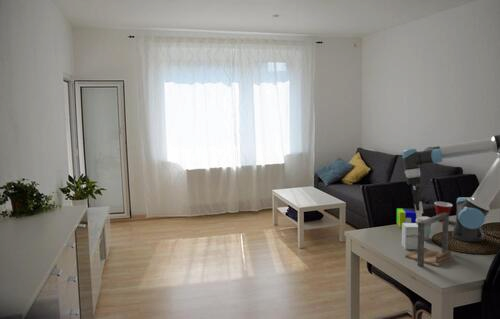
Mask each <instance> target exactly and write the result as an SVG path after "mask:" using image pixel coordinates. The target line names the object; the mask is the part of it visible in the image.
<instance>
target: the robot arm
mask: <svg viewBox="0 0 500 319" xmlns="http://www.w3.org/2000/svg"><path fill="white" fill-rule="evenodd" d="M489 153H495V154H496V158H495V161H494V162H493V163H492V165H491V167H490V168H489V170H488V171H487V173H486V174H485V175H484V177H483V179H482V181H481V182H480V183H479V185H478V187H477V188H476V190H475V191H474V193H473V194H472V196H470V197H468V196H467V197H464V196H463V197H461V196H460V197H458V198H456V203H455V204H456V214H455V215H456V219H455V220H456V222H455V225H454V227H453V230H452V232H451V233H452V235H451V236H452V237H453V238H454V239H456V240H460V241H464V242H468V243H469V242H471V243H473V242H474V243H478V242H482V241H483V240H484V233H483V230H482V226H483V225H484V223H485V221H486V218H487V215H488V214H489V212H490V211H491V209H490V204H491V203H492V202H493V200H494V199H495V197H496V195H497V194H498V192H499V191H500V134H497V135H492V136H491V137H489V138H484V139H477V140H469V141H464V142H459V143H458V142H456V143H452V144H444V145H439V146H438V145H437V146H428V147H426V148H425V149H424V150H421V151H417V149H416V148H409V149H405V150H402V161H403V167H404V173H403V174H405V177H406V183H407V185H409V186H410V185H412V186H411V188H410V189H411V193H412V200H413V203H412V206H414V210H415V211H416V217H421V216H423V215H422V214H424V209H423V199H422V198H421V190H420V186H419V184H422V182H423V180H422V176H421V170H420V166H423V165H430V164H438V163H442V162H443V160H445V159H451V158H452V159H453V158H459V157H467V156H476V155H482V154H489Z"/></svg>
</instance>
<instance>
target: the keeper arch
mask: <svg viewBox="0 0 500 319" xmlns="http://www.w3.org/2000/svg"><path fill="white" fill-rule="evenodd" d="M442 219H443V222H442V229H441V230H442V231H441V232H442V234H441V235H442V236H441V237H442V238H441V240H442V241H441V251H438V250H437V251H436V250H434V249H429V248H427V247H426V248H425V240H424V227H425V226H427V225H430V224H431V225H432V224H435V223H437V222H439V220H442ZM449 220H450V214H449V213H447V212H444V213H441V214H439V215H434V216H432V217H430V218H429V219H426V220H424V221H421V222H419V223H418V249H414V250H413V251H411V252H409V253H407V254H405V258H407V259H411V260H414V261H416V263H417V266H418V267H423V266H424V265H425V264H427V265H430V266H433V267H437V268H438V267H440V266H442V265H444V264H445V263H447V262H448V261H451V260H453V259H454V255H452V253H451V252H452V250H449Z"/></svg>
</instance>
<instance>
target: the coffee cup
mask: <svg viewBox="0 0 500 319" xmlns="http://www.w3.org/2000/svg"><path fill="white" fill-rule="evenodd" d="M429 218H431V217H429V216H426V215H424V216H423V215H422V216H421V217H417V218H416V224H417V225H418V223H419V222H421V221H424V220H426V219H429ZM431 228H432V224H430V225H427V226H425V227H424V241H427V240H430V234H431Z"/></svg>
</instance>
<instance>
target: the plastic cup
mask: <svg viewBox="0 0 500 319" xmlns="http://www.w3.org/2000/svg"><path fill="white" fill-rule="evenodd" d="M433 204H434V208H435V213H436V215H439V214H441V213H444V212H447V213H449V215H450V214H451V210H452V207H453V204H452V203H450V202H446V201H435V202H433ZM436 215H435V216H436ZM438 222H440V223H443V219H442V220H439V221H438Z"/></svg>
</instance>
